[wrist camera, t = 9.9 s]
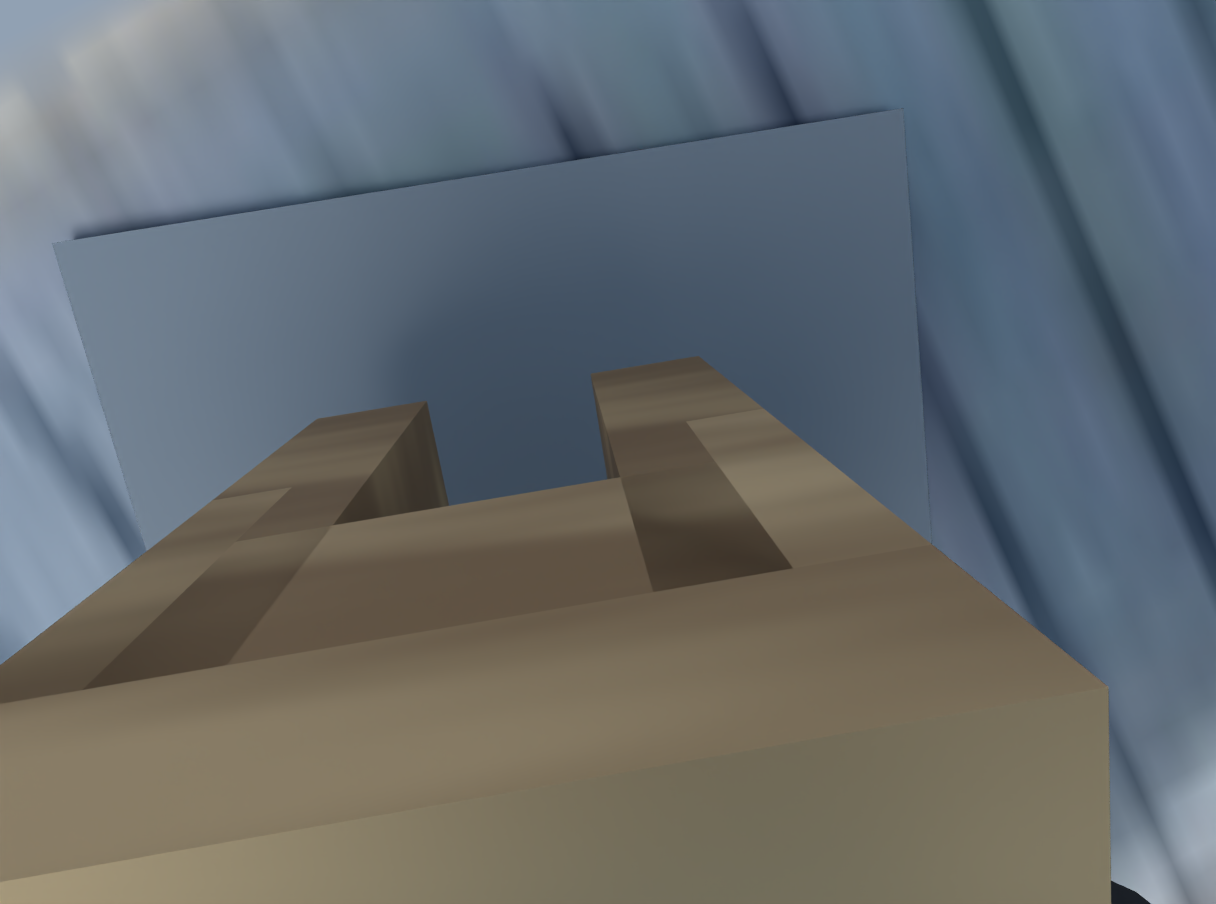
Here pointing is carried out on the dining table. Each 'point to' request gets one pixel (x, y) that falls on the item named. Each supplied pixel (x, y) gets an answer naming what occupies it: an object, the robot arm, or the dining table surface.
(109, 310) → the slate mat
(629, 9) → the dining table surface
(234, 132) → the dining table surface
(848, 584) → the notched wooden block
